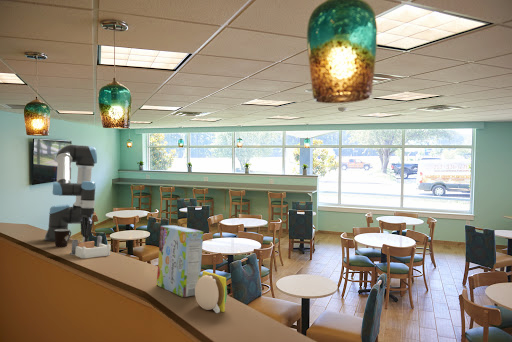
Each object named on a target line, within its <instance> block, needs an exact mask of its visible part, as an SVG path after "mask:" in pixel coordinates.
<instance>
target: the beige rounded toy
mask: <svg viewBox="0 0 512 342" xmlns="http://www.w3.org/2000/svg"><path fill="white" fill-rule="evenodd" d="M227 289H228V286H227V277H225V276H223V275H219V274H217V273H216V272H215V273H213V272H208V271H205V270H203V271H202V275H201V276H200V279H199V280H198V281H197V283H196V286H195V295H194V296H195V301H196V302H197V304H198V305H199V306H200V307H201V308H202V309H203V310H206V311H210V310H213V311H214V313H216V314H219V313H220V312H221V313H225V308H226V303H227V301H228V290H227Z"/></svg>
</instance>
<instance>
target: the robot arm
mask: <svg viewBox="0 0 512 342" xmlns="http://www.w3.org/2000/svg"><path fill="white" fill-rule="evenodd" d="M55 161H56V163H57V169H56V182H53V184H52V195H53V196H60V197H61V196H69V197H70V196H73V197H75V202H74V203H72V206H70V204H58V205H56V204H55V205H52V206H50V208H49V212H48V214H49V215H48V216H49V217H48V229H47V231H46V233H45V236H44V241H46V242H55V232H54V230H57V229H69V225H74V224H77V225H78V224H80V235H81V236H82V242H89V237H91V235H92V229H93V224H94V220H92V219H93V215H94V214H95V206H96V205H95V203H96V202H95V199H96V198H95V197H96V196H95V195H96V182H95V181H91V180H92V170H93V168H94V166H95V164H97V163H98V155H97V149H96V147H94V146H90V145H78V144H68V145H65V146H63V147H62V148H60V149H59V150H58V152H57V153H56V156H55ZM72 163H75V165H76V166H75V167H77V177H76V179H77V180H76V183H75V182H74V183H73V182H71V180H72V179H71V176H72V175H71V174H72V173H71V167H72ZM69 236H70V233H69ZM69 238H70V239H71V236H70V237H69ZM69 238H68V241H69V240H70V239H69Z"/></svg>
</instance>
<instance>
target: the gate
mask: <svg viewBox="0 0 512 342" xmlns="http://www.w3.org/2000/svg"><path fill="white" fill-rule="evenodd" d="M76 246H79V247H81V248H82V247H86V248H95V241H94V240H92V241H90V240H89V241H88V242H83V241H81V242H79V239H72V241H71V253H75V251H76Z"/></svg>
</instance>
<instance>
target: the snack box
mask: <svg viewBox="0 0 512 342" xmlns="http://www.w3.org/2000/svg"><path fill="white" fill-rule="evenodd" d="M159 229H160V230H159V231H160V232H159V245H158V246H159V247H158V261H157V276H156V286H157V285H158V286H157V287H159V288H162V289H164V290H166V291H169V292H170V293H173V294H175V295H177V296H180V297H181V298H187V297H192V296H193V297H194V296H195V286H196V283H197V281H198V280H199V279H200V278H201V271H202V270H201V269H202V258H203V257H202V255H203V244H204V243H203V241H204V230H203V231H202V230H198V229H194V228H189V227H184V226H180V225H174V224H173V225H170V224H169V225H160V228H159Z"/></svg>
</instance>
